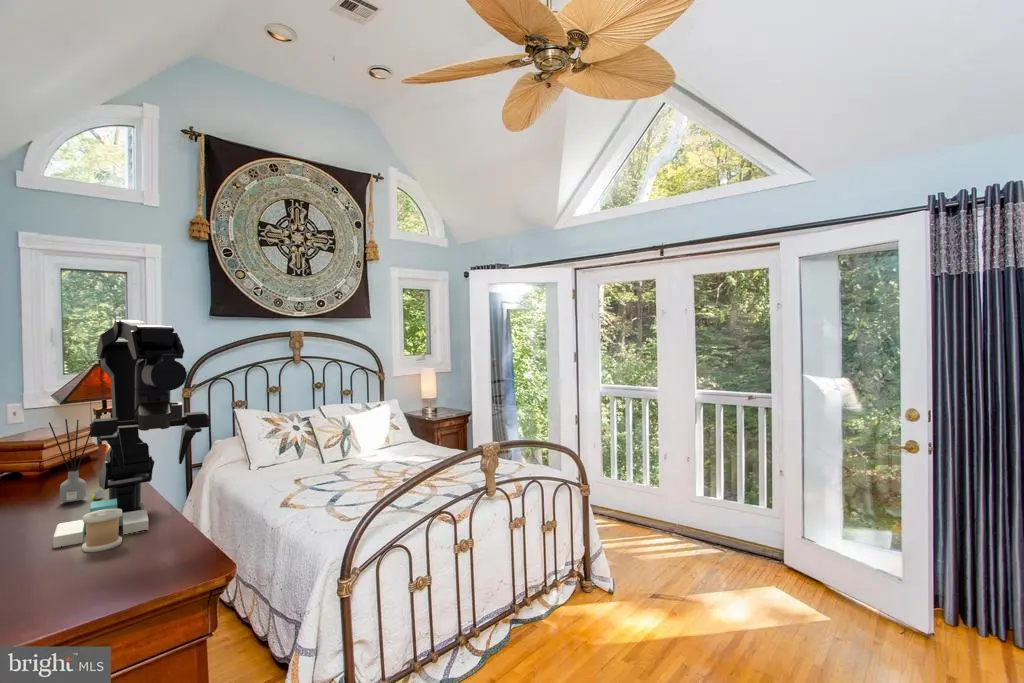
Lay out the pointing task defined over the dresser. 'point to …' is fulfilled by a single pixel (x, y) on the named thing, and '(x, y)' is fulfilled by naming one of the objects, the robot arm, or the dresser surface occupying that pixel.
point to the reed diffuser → (74, 476)
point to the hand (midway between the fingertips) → (152, 467)
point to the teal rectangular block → (103, 505)
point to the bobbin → (102, 530)
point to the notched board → (75, 529)
